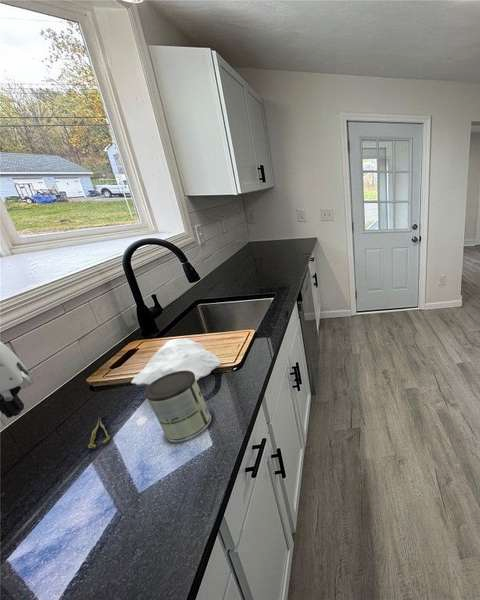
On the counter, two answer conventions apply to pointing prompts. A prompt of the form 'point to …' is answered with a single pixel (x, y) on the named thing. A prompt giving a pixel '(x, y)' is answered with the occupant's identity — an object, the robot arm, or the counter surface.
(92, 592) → the counter surface
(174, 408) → the coffee can
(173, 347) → the crumpled cloth
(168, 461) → the counter surface
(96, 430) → the tongs
